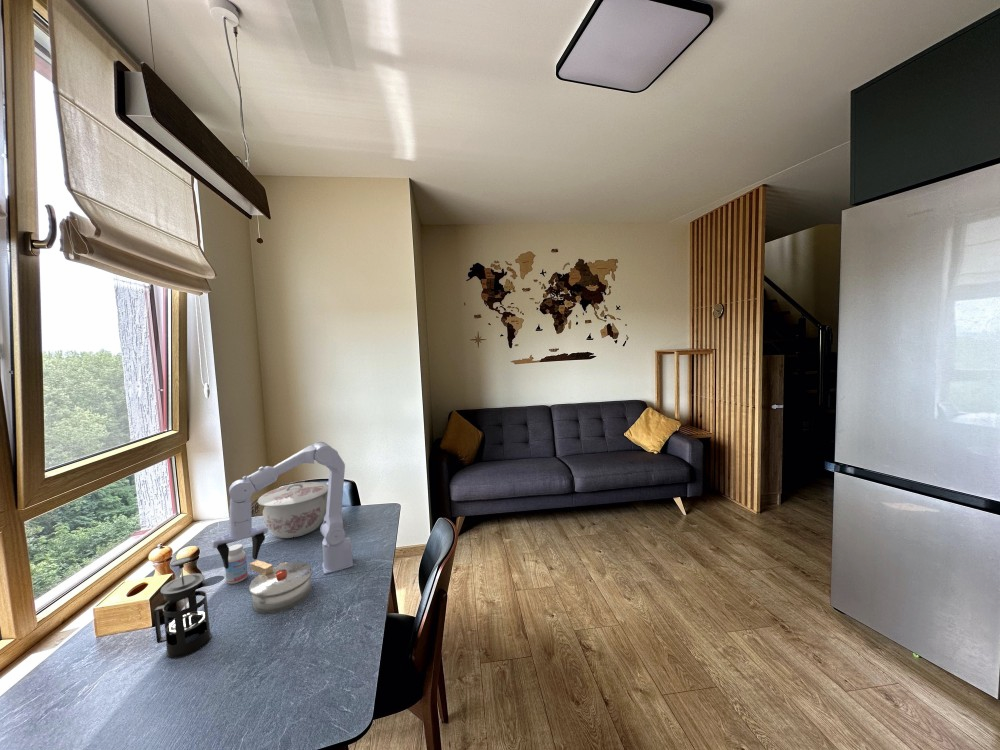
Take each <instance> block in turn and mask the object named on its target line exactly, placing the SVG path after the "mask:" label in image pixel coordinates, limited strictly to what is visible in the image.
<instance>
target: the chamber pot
mask: <svg viewBox="0 0 1000 750" xmlns="http://www.w3.org/2000/svg"><path fill="white" fill-rule="evenodd" d="M327 494H328V484H327V483H326V482H319V481H318V482H317V481H309V482H307V481H306V482H297V483H292V484H288V485H283V486H280V487H277V488H274V489H272V490H269V491H267V492H266V493H263V494H261V496H260V497H258V500H257V503H258V504H259V505H260V506H263V507H264V508H263V510H262V518H263V522H264V524H265V525H264V526H266V527H268V530H269V531H270V532H271V534H272V535H274V536H276V537H278V538H281V539H291V538H292V539H294V538H298V537H302V536H305V535H308V534H309V533H312V532H314V531H315V530H316V529H318V528H320V527H319V526H321V525H322V524H323V522H324V516H325V515H326V508H327ZM293 537H294V538H293Z"/></svg>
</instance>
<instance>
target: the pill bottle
mask: <svg viewBox="0 0 1000 750" xmlns="http://www.w3.org/2000/svg"><path fill="white" fill-rule="evenodd" d="M228 548H229V555H228V562H229V568H227V569H225V568H224V569H225V570H224V571H225V581H226V583H227V584H232V585H233V584H238V583H240V582H243V581H244V580H246V579H247V578H248V575H249V574H248V571H249V570H248V562H247V553H246V552H245V551H244V550H243V549H244V546H243V544H241V543H236V544H233V545H231V546H228Z"/></svg>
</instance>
